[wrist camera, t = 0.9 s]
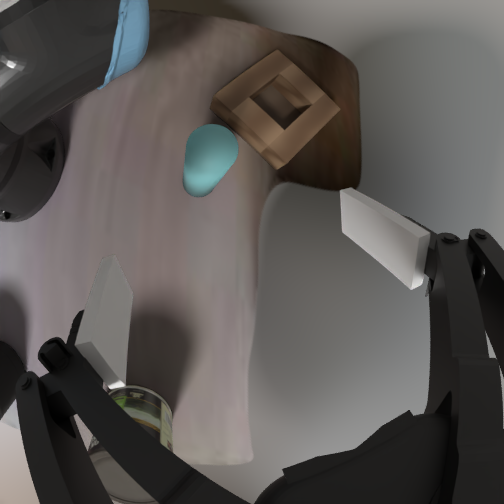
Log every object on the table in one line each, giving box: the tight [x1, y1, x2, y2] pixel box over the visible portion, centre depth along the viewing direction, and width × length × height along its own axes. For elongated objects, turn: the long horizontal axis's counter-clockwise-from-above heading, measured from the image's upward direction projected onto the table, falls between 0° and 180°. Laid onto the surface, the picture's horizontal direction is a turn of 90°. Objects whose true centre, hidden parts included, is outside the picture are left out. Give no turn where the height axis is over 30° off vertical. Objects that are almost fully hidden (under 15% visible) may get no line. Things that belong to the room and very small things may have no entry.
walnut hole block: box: [210, 50, 340, 170], centre depth 34 cm, size 12×12×4 cm
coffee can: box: [88, 385, 173, 504], centre depth 27 cm, size 10×10×14 cm
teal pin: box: [183, 124, 238, 197], centre depth 27 cm, size 4×4×14 cm
